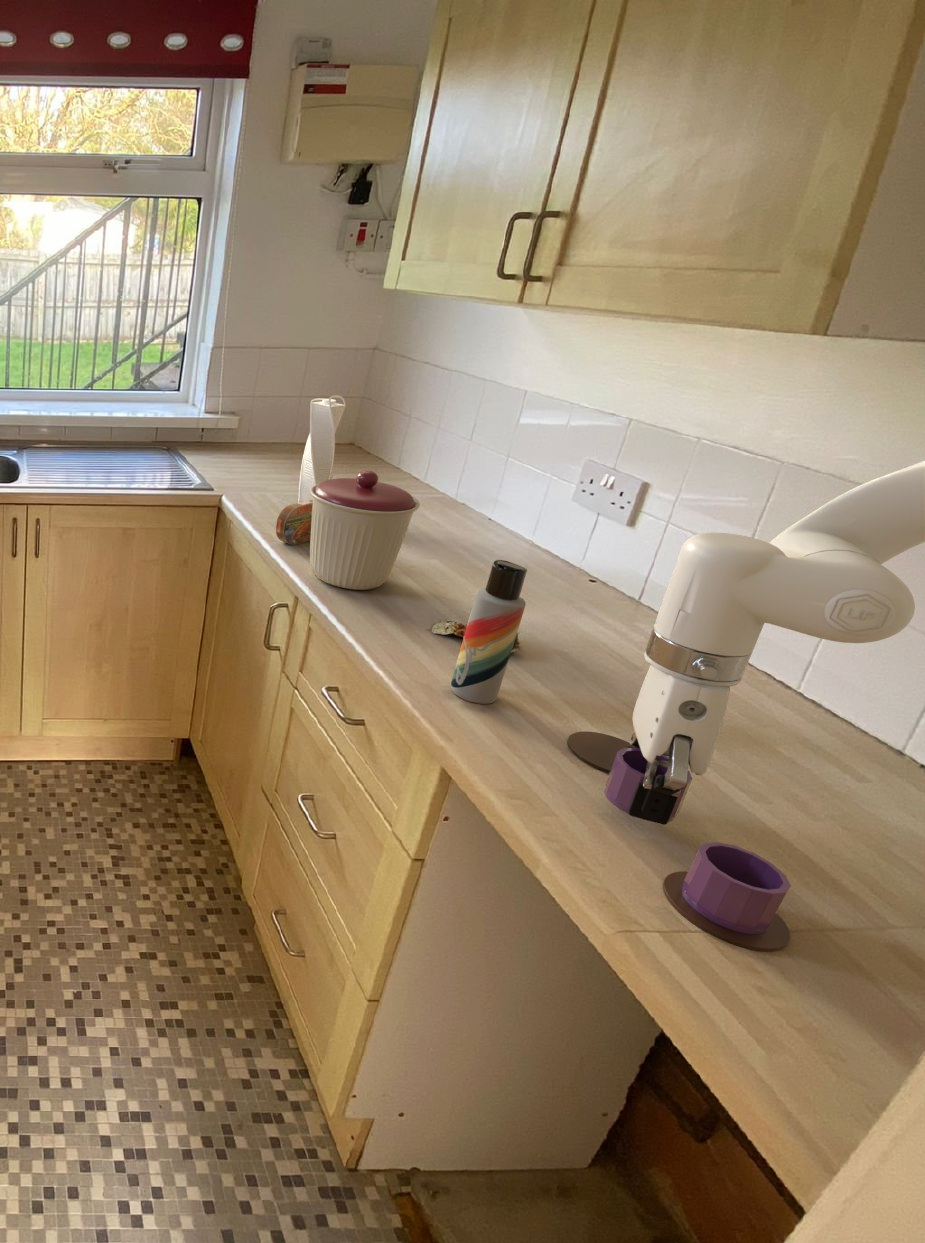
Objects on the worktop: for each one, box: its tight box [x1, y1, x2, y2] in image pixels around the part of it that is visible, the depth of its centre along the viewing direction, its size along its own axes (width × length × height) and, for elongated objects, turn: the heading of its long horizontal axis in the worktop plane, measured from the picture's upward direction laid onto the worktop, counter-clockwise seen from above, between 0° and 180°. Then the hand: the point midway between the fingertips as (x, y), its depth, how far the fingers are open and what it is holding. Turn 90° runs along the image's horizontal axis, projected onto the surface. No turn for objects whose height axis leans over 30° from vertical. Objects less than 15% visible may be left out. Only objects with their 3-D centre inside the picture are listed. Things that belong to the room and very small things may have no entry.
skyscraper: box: [297, 394, 347, 503], centre depth 174 cm, size 8×8×28 cm
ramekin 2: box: [681, 841, 792, 934], centre depth 71 cm, size 6×6×5 cm
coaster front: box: [662, 870, 791, 952], centre depth 72 cm, size 9×9×1 cm
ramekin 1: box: [604, 748, 693, 823], centre depth 82 cm, size 6×6×5 cm
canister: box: [309, 470, 421, 591], centre depth 139 cm, size 18×18×21 cm
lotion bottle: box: [450, 559, 528, 705], centre depth 103 cm, size 6×6×20 cm
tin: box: [275, 500, 313, 546], centre depth 161 cm, size 15×3×8 cm, turn 120°
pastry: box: [431, 619, 521, 653], centre depth 121 cm, size 7×12×4 cm, turn 53°
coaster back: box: [566, 730, 635, 774], centre depth 94 cm, size 9×9×1 cm
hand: (641, 798), depth 83 cm, fingers closed on ramekin 1, 6 cm apart
